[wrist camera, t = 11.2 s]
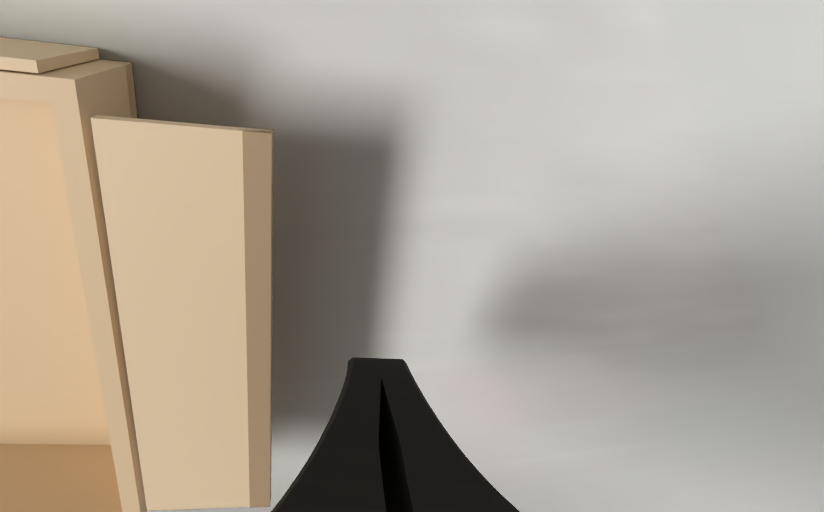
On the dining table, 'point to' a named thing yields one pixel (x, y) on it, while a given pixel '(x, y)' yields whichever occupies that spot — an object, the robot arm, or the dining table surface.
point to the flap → (193, 303)
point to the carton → (60, 289)
